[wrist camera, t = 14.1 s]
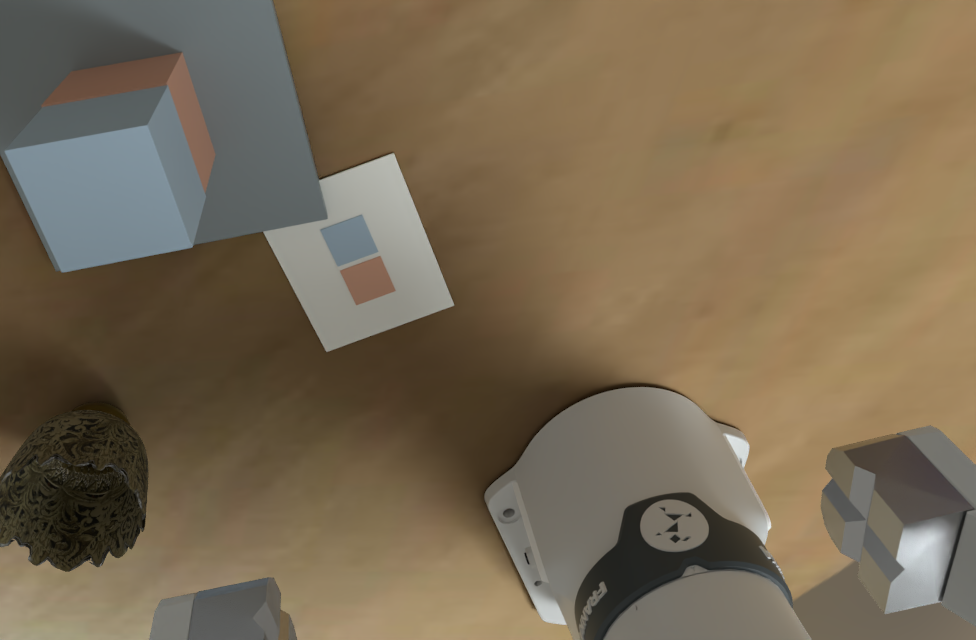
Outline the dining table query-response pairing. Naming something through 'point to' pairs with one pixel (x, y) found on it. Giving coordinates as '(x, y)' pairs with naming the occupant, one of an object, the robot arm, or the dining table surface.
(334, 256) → the page
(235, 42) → the plate
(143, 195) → the blue brick
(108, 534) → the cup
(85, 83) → the base brick
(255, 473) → the dining table surface
